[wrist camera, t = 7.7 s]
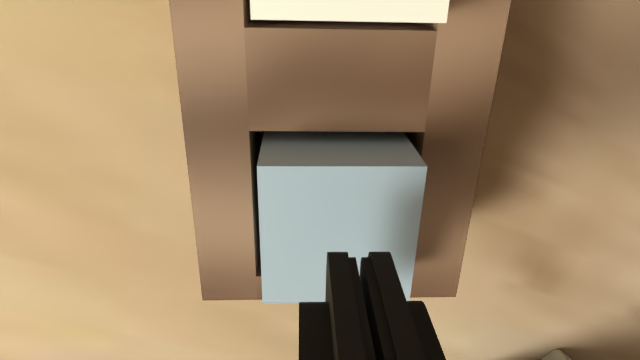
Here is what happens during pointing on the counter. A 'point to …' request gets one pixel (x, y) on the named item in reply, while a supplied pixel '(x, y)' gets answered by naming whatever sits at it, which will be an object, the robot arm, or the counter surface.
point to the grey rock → (556, 356)
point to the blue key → (335, 206)
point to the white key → (351, 10)
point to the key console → (331, 118)
